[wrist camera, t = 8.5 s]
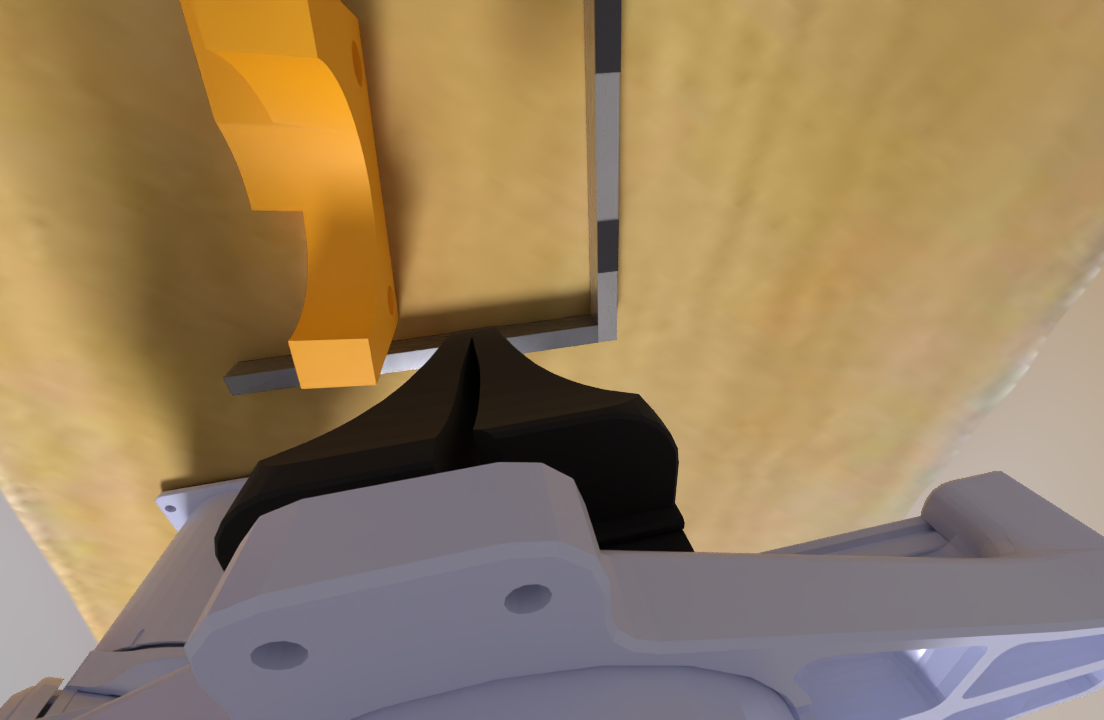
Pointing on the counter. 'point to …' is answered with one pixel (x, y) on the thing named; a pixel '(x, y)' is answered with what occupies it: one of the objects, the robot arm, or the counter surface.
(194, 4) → the pipe clamp
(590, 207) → the frame
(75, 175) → the counter surface
